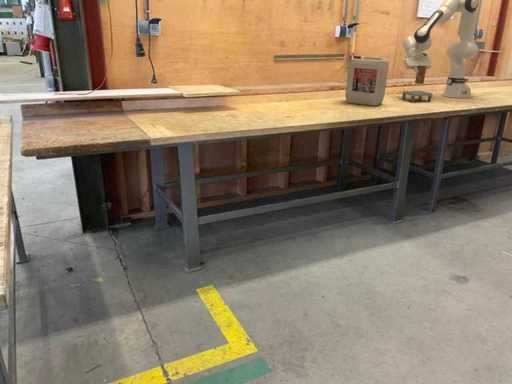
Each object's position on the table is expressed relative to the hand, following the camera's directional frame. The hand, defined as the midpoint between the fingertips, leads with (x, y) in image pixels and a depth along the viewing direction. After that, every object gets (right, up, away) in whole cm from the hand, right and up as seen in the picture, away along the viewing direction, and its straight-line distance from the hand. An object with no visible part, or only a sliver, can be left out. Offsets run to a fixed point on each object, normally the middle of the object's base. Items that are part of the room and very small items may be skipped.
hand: (421, 73), depth 289 cm
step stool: (-1, -18, +8) cm, 19 cm away
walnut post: (0, -6, +3) cm, 7 cm away
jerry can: (-42, -23, -7) cm, 48 cm away
